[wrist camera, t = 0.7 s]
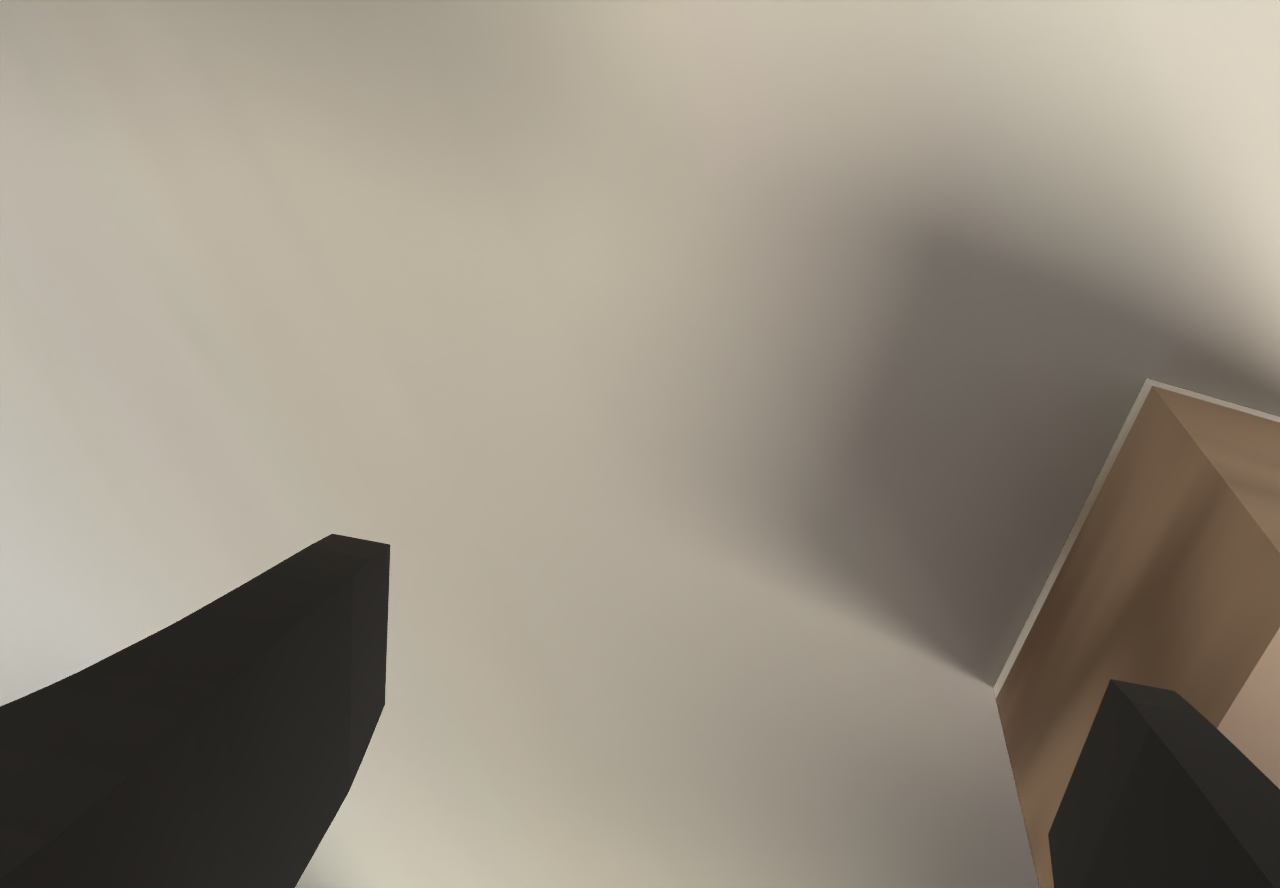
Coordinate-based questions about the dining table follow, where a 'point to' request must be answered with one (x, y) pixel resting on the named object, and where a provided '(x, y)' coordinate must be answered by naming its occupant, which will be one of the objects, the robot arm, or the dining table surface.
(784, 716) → the dining table surface
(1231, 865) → the robot arm
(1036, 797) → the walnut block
